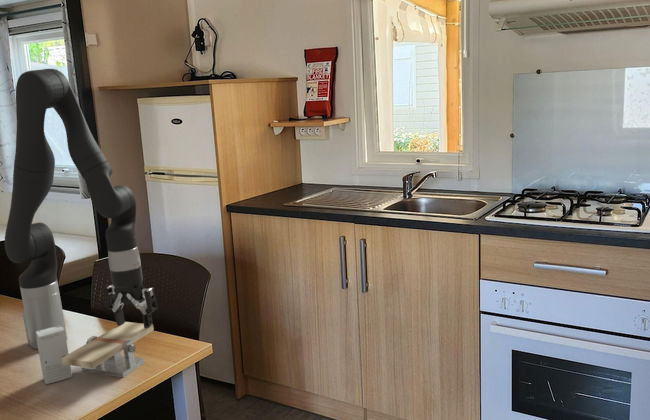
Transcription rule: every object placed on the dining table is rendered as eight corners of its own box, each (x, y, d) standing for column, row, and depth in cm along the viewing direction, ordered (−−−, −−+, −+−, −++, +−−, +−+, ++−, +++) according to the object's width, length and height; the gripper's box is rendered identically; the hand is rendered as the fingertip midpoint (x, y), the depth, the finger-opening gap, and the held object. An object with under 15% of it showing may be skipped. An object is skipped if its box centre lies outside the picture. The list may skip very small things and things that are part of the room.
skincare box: (46, 385, 144) (37, 337, 142) (42, 378, 148) (33, 331, 146) (73, 377, 148) (65, 329, 145) (69, 370, 151) (61, 324, 149)
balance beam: (62, 364, 142) (61, 357, 142) (125, 327, 162) (124, 321, 162) (93, 368, 139) (92, 361, 138) (153, 330, 159) (153, 324, 158)
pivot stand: (80, 371, 150) (75, 344, 149) (103, 357, 158) (99, 330, 156) (125, 377, 145) (121, 349, 144) (146, 362, 153) (142, 335, 151)
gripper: (92, 268, 154) (102, 329, 158) (138, 271, 149) (148, 334, 152) (112, 259, 161) (122, 318, 164) (157, 262, 156) (166, 322, 159)
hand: (134, 325), depth 158 cm, fingers open, 8 cm apart
